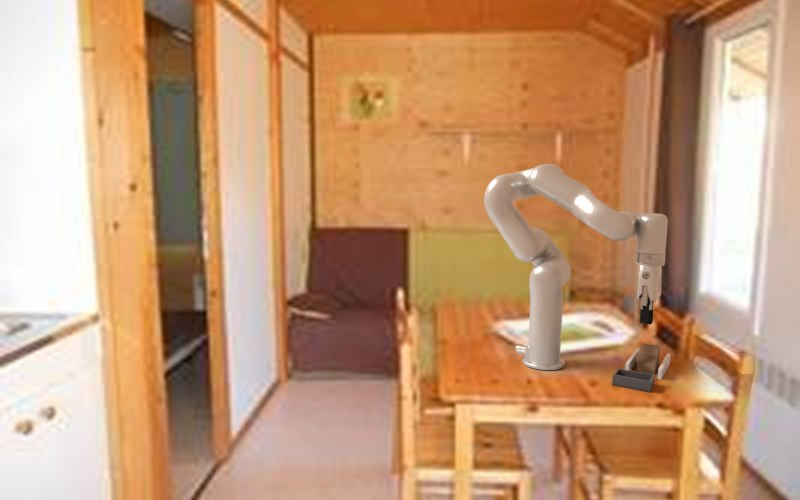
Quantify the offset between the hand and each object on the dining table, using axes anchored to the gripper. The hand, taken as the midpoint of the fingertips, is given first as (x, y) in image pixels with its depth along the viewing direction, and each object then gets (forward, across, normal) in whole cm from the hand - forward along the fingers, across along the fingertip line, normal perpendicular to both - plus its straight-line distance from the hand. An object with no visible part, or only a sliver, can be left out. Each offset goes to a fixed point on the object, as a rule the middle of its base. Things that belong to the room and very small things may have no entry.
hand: (646, 323), depth 184 cm
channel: (+16, +10, 0) cm, 20 cm away
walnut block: (+17, +10, 0) cm, 20 cm away
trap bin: (+16, -6, +1) cm, 18 cm away
